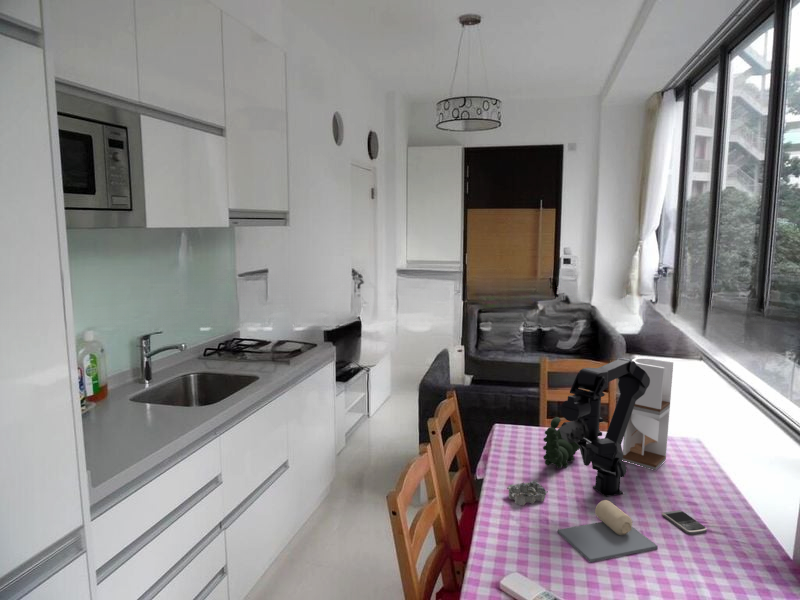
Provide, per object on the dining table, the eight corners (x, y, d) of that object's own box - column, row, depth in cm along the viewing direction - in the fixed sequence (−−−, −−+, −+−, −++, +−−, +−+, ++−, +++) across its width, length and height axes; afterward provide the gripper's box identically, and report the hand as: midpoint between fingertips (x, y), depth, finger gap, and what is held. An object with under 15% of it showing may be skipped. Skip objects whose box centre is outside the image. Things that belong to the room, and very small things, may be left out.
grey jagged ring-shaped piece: (517, 507, 167) (517, 494, 166) (504, 495, 174) (505, 482, 173) (549, 501, 170) (549, 488, 170) (535, 490, 177) (535, 477, 177)
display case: (620, 461, 199) (627, 362, 194) (632, 451, 207) (638, 356, 202) (655, 470, 191) (663, 368, 186) (665, 460, 199) (673, 362, 194)
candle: (615, 504, 159) (639, 522, 150) (606, 521, 159) (629, 541, 150) (601, 496, 158) (624, 515, 148) (591, 514, 158) (613, 533, 148)
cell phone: (688, 537, 153) (689, 532, 152) (660, 515, 163) (660, 511, 163) (708, 533, 154) (708, 529, 154) (678, 513, 165) (679, 508, 165)
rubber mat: (620, 521, 159) (620, 518, 159) (657, 548, 146) (657, 545, 146) (557, 532, 153) (557, 529, 153) (590, 562, 140) (590, 559, 140)
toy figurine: (562, 481, 187) (589, 450, 206) (563, 427, 183) (590, 400, 202) (535, 473, 192) (563, 444, 212) (535, 420, 188) (564, 395, 208)
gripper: (546, 405, 171) (544, 455, 173) (585, 427, 153) (581, 483, 156) (579, 402, 174) (576, 451, 177) (620, 423, 157) (616, 477, 159)
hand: (586, 465), depth 167 cm, fingers closed
